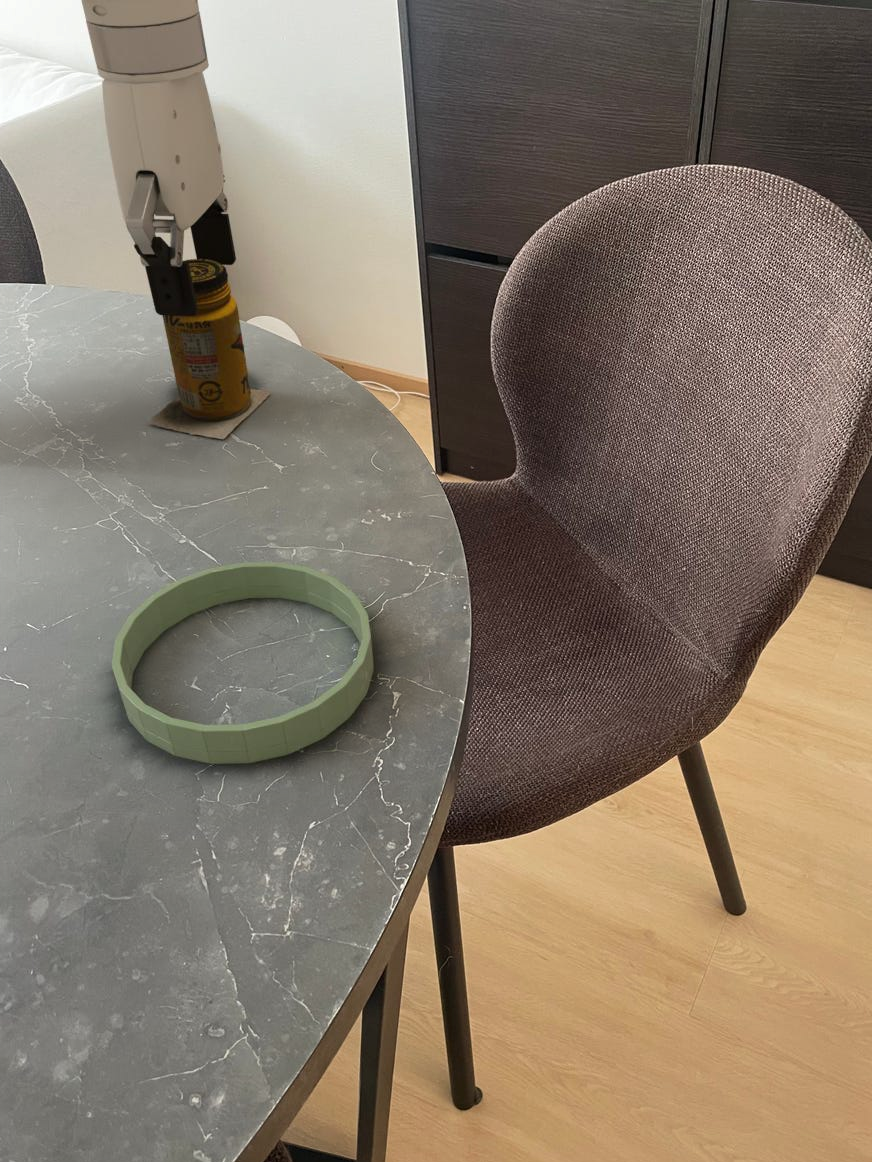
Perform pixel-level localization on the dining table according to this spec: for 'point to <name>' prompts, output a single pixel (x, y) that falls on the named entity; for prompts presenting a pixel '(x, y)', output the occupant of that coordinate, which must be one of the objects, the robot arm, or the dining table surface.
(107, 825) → the dining table surface
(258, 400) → the yellow coffee can
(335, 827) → the dining table surface
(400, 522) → the dining table surface
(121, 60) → the robot arm
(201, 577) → the green faceted hoop
